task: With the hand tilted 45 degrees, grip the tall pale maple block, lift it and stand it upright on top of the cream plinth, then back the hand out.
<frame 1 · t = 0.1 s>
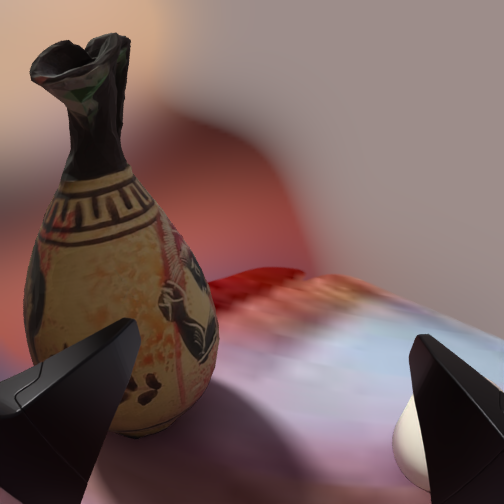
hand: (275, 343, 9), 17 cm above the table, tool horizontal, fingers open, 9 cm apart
ceramic jug: (144, 392, 26), on the table
cream plinth: (447, 441, 18), on the table
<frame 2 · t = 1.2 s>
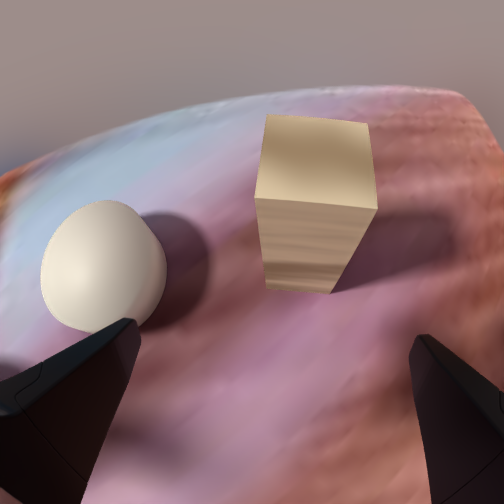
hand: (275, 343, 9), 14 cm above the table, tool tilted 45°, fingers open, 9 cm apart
maple block: (300, 261, 25), on the table
cream plinth: (111, 276, 26), on the table
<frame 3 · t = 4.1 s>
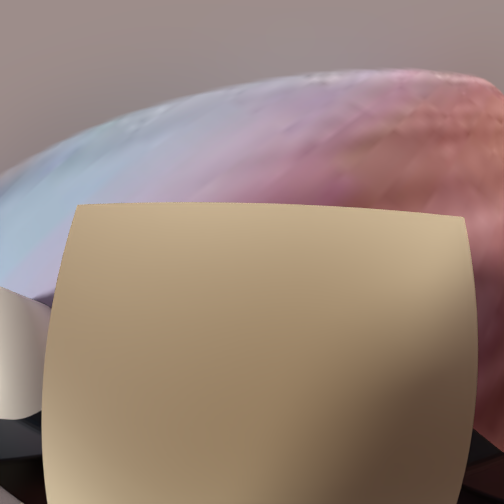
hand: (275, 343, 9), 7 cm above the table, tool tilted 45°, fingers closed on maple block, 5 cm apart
maple block: (274, 378, 15), on the table, touching gripper
cream plinth: (27, 377, 15), on the table
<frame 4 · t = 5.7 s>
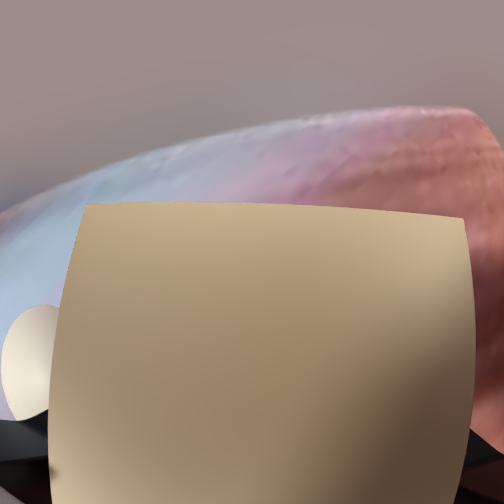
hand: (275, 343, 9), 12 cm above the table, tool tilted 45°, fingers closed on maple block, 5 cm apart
maple block: (276, 378, 15), point 6 cm above the table, touching gripper
cream plinth: (72, 378, 21), on the table
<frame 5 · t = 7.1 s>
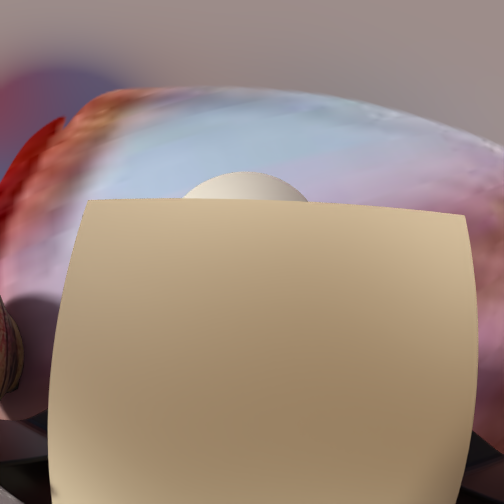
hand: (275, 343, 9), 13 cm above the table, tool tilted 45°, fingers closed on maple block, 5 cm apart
ceramic jug: (0, 343, 23), on the table
maple block: (277, 377, 15), point 7 cm above the table, touching gripper
cream plinth: (245, 260, 24), on the table
when the fingers open (12 cm above the table, at t = 10.1 s): maple block drops 1 cm, resting on cream plinth.
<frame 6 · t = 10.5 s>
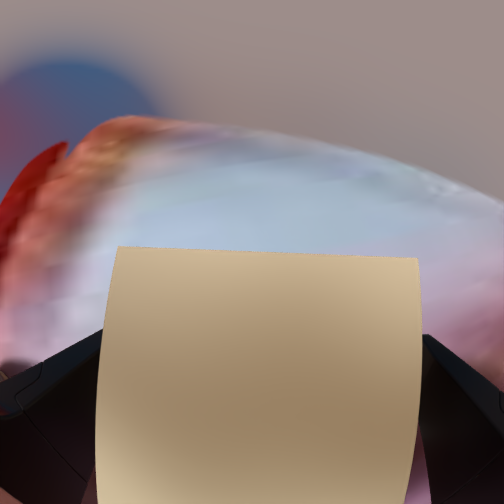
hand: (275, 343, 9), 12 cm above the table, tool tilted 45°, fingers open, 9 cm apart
maple block: (272, 377, 16), point 4 cm above the table, touching cream plinth
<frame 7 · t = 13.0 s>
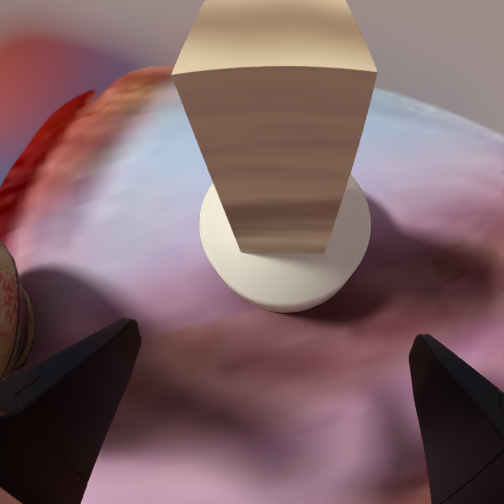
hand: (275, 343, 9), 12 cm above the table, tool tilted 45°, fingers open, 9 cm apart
ceramic jug: (9, 316, 23), on the table
maple block: (283, 215, 19), point 4 cm above the table, touching cream plinth
cream plinth: (285, 238, 23), on the table
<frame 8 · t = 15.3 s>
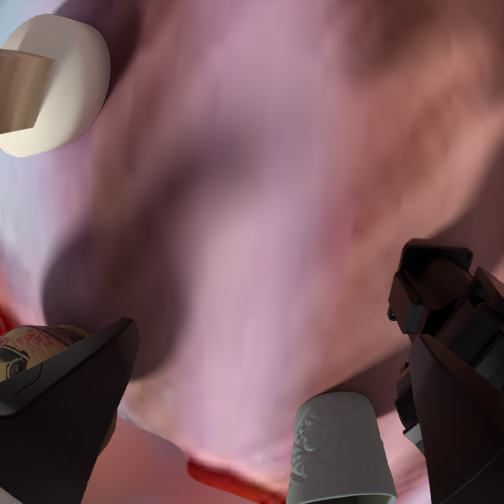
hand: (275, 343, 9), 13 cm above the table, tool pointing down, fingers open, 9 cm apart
ceramic jug: (76, 350, 30), on the table
maple block: (23, 86, 14), point 4 cm above the table, touching cream plinth
cream plinth: (57, 84, 18), on the table
grey cup: (336, 413, 29), on the table
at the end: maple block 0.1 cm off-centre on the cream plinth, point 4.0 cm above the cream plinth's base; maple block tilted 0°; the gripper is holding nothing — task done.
